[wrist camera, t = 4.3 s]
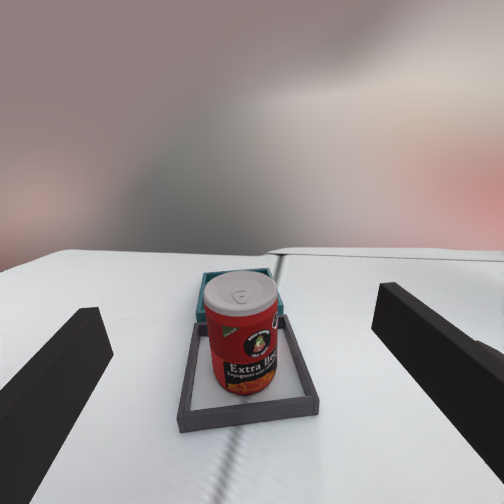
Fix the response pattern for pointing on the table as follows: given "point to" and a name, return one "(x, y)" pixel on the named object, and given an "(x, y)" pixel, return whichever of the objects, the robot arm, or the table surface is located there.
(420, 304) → the robot arm
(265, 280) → the canned food
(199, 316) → the tray
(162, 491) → the table surface
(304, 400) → the tray
